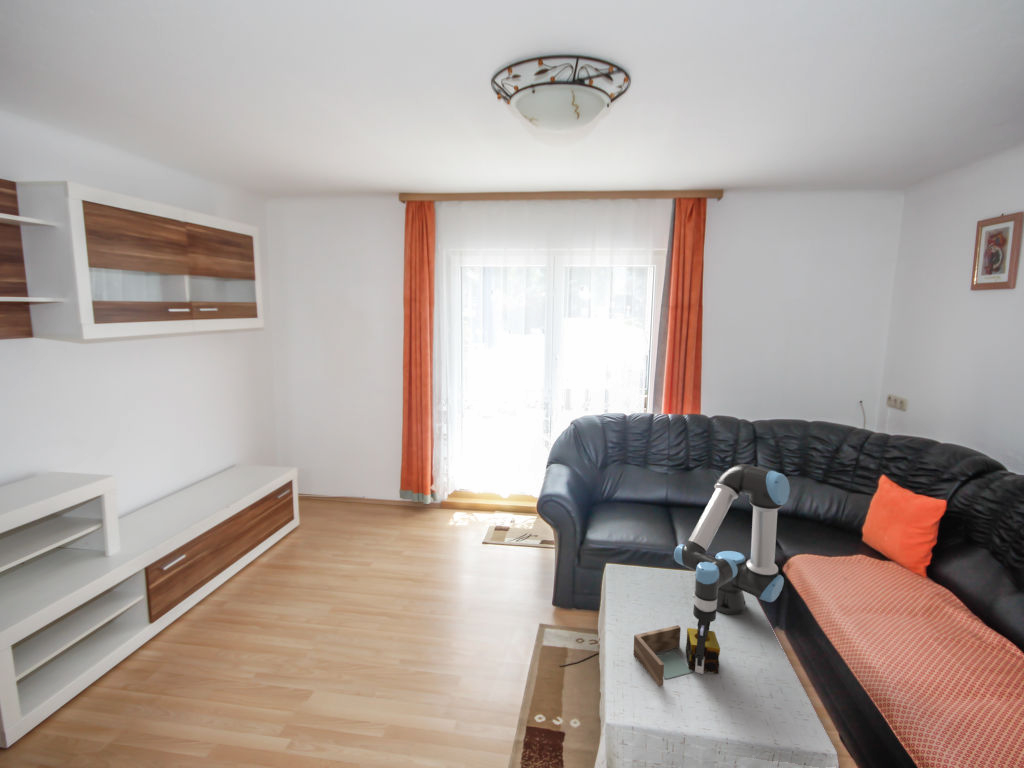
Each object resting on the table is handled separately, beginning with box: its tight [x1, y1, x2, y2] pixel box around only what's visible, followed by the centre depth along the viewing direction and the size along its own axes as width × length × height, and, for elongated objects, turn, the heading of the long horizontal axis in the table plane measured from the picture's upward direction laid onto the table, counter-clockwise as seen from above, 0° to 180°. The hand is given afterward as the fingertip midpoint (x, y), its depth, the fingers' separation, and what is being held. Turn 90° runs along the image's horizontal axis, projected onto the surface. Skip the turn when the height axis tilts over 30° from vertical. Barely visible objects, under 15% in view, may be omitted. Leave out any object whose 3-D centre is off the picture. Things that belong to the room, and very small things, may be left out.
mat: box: [656, 651, 694, 680], centre depth 183 cm, size 11×11×1 cm
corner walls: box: [632, 625, 682, 687], centre depth 183 cm, size 19×16×8 cm
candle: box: [685, 627, 721, 675], centre depth 183 cm, size 10×10×10 cm
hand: (701, 661), depth 184 cm, fingers closed on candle, 11 cm apart
